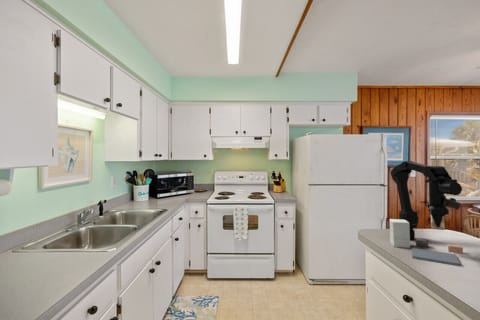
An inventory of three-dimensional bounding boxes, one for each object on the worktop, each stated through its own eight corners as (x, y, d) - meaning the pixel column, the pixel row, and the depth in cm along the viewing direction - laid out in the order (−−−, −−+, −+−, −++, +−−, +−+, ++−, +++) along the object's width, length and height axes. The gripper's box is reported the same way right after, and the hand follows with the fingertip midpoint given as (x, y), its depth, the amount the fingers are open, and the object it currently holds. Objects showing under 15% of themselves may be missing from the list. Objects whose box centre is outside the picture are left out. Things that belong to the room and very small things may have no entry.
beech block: (432, 228, 116) (431, 216, 116) (431, 226, 120) (430, 214, 120) (444, 230, 114) (444, 217, 114) (443, 227, 118) (442, 215, 118)
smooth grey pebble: (416, 246, 124) (416, 241, 124) (415, 244, 129) (415, 238, 129) (428, 248, 122) (428, 242, 122) (427, 245, 126) (427, 239, 126)
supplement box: (405, 243, 129) (405, 219, 129) (410, 248, 122) (409, 222, 122) (389, 242, 132) (389, 218, 132) (393, 246, 125) (392, 221, 125)
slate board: (412, 258, 110) (412, 255, 110) (411, 249, 120) (411, 247, 120) (460, 266, 101) (460, 263, 101) (455, 256, 111) (455, 254, 111)
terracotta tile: (448, 252, 117) (448, 245, 117) (447, 250, 119) (447, 244, 119) (462, 254, 114) (462, 247, 114) (461, 252, 116) (461, 245, 116)
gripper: (463, 195, 105) (464, 232, 105) (454, 191, 121) (455, 223, 121) (430, 194, 111) (431, 229, 111) (426, 190, 127) (427, 221, 127)
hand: (437, 225), depth 117 cm, fingers closed on beech block, 4 cm apart
